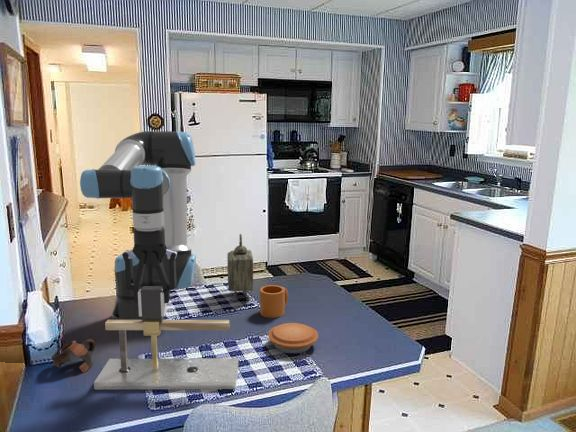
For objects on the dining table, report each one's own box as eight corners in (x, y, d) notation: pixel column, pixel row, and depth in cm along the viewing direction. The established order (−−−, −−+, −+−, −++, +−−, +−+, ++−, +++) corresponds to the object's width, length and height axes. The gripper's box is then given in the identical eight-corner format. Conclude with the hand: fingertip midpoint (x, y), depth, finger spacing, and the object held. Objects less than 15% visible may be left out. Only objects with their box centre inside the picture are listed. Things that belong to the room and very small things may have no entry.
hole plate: (110, 365, 130) (109, 358, 130) (238, 364, 132) (238, 358, 131) (94, 389, 119) (93, 382, 118) (235, 388, 120) (235, 381, 120)
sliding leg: (148, 363, 127) (144, 284, 122) (166, 363, 127) (163, 284, 122) (143, 372, 122) (139, 291, 118) (162, 372, 122) (159, 291, 118)
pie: (260, 351, 140) (260, 336, 139) (278, 330, 154) (278, 316, 153) (308, 361, 135) (309, 345, 133) (323, 338, 149) (324, 324, 148)
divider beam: (110, 368, 125) (107, 319, 122) (229, 367, 126) (229, 319, 124) (108, 371, 123) (105, 322, 120) (229, 371, 125) (228, 323, 122)
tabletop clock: (253, 302, 176) (253, 239, 171) (229, 303, 175) (228, 239, 170) (249, 289, 190) (249, 229, 185) (227, 289, 189) (227, 230, 184)
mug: (296, 312, 168) (297, 289, 166) (267, 320, 162) (268, 296, 160) (283, 303, 175) (283, 281, 173) (255, 310, 169) (255, 287, 167)
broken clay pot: (77, 381, 123) (59, 357, 122) (59, 385, 128) (41, 362, 127) (109, 351, 133) (92, 328, 131) (91, 356, 138) (75, 334, 136)
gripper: (107, 231, 113) (113, 320, 117) (182, 231, 113) (185, 320, 118) (117, 224, 120) (122, 308, 125) (187, 224, 121) (190, 308, 125)
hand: (152, 314), depth 121 cm, fingers closed on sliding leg, 5 cm apart
